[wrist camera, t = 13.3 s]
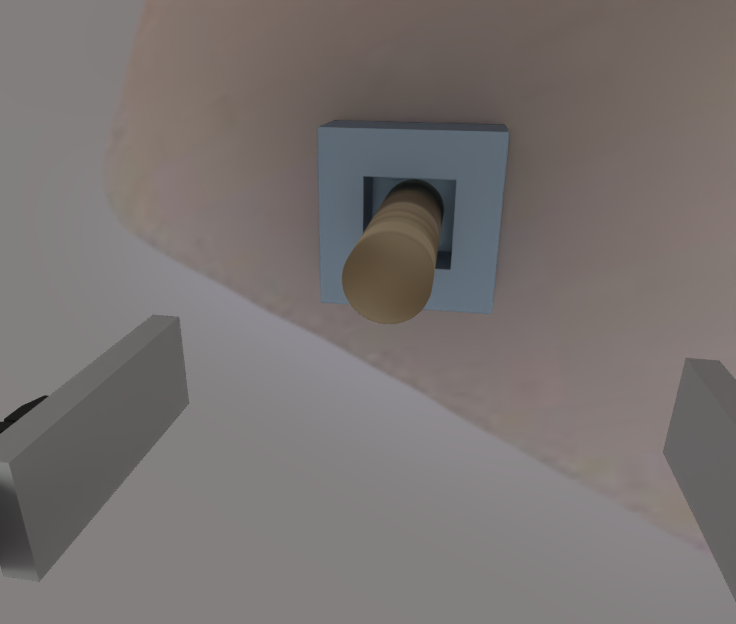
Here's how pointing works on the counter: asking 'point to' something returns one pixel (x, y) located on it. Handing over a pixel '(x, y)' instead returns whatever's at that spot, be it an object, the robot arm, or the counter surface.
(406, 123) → the socket block
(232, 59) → the counter surface
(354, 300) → the dowel
